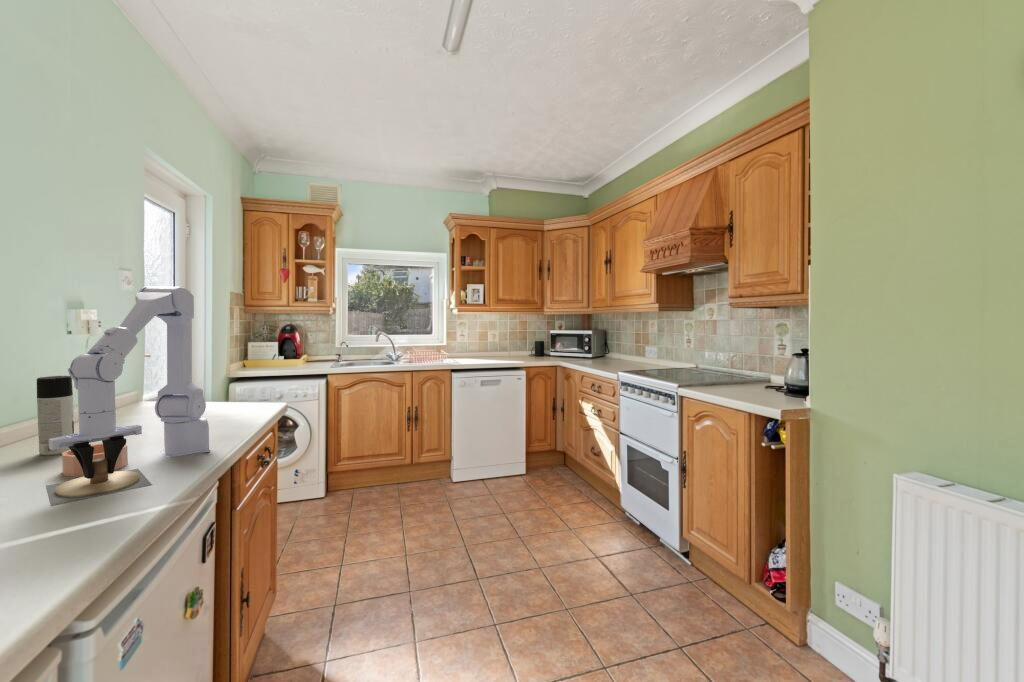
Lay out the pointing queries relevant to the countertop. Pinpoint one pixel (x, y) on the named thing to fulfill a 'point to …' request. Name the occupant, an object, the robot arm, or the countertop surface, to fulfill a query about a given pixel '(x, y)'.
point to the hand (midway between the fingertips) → (99, 475)
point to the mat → (61, 500)
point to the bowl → (74, 468)
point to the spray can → (54, 411)
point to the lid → (97, 481)
